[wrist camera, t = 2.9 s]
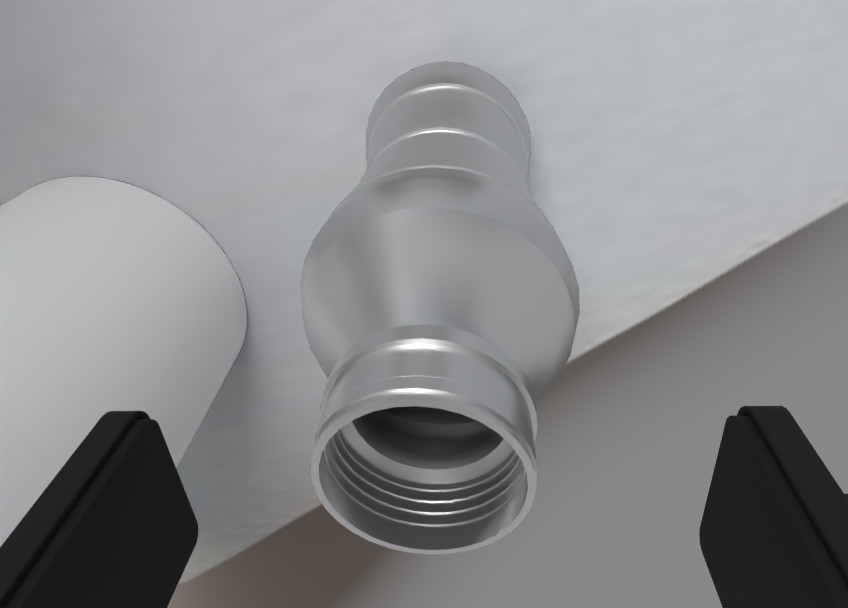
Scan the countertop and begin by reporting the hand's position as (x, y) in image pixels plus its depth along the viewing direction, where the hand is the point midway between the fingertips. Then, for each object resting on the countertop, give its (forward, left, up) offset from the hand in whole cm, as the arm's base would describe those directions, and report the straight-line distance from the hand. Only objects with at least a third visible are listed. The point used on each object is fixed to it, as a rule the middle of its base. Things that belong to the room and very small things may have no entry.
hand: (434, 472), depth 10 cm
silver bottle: (0, 0, -20) cm, 20 cm away
